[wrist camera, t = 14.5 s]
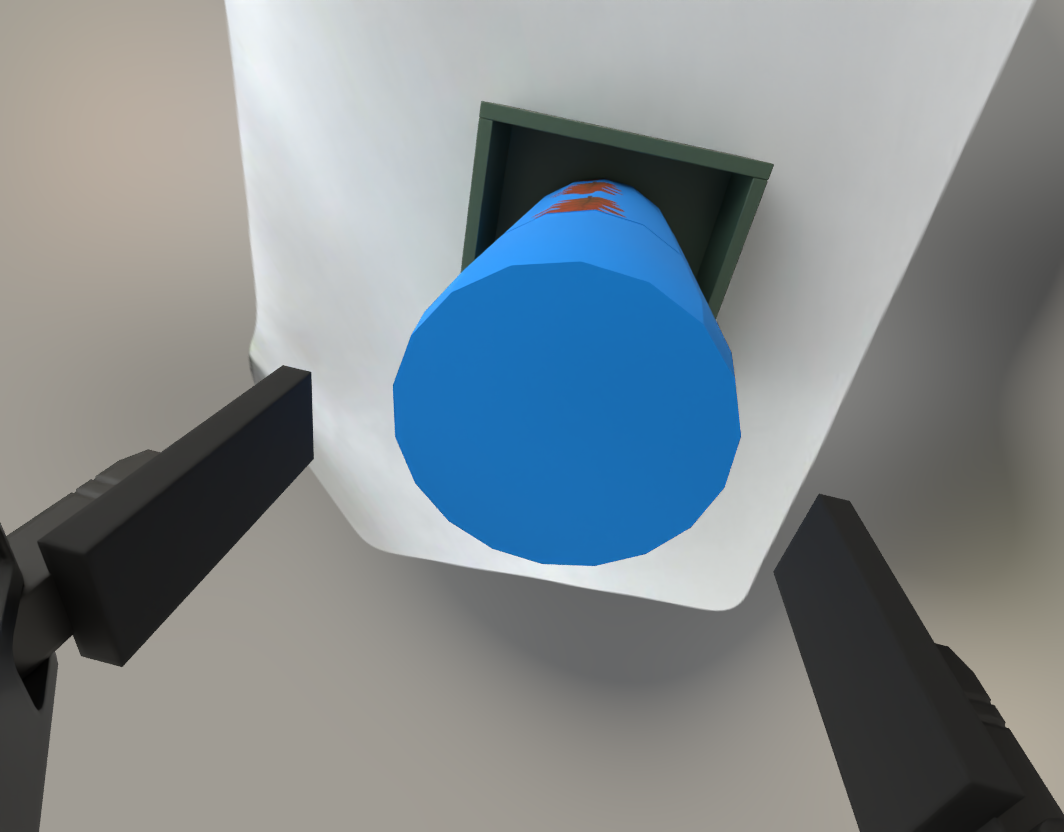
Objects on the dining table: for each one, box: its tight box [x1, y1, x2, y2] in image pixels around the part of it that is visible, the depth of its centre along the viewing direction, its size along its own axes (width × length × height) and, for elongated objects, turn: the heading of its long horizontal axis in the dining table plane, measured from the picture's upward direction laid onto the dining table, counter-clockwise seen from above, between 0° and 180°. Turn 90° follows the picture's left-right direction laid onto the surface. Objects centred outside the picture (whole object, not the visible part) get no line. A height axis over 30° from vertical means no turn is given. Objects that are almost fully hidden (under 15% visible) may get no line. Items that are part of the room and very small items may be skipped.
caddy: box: [461, 101, 774, 320], centre depth 36 cm, size 16×16×7 cm
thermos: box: [393, 178, 741, 566], centre depth 27 cm, size 11×11×25 cm
